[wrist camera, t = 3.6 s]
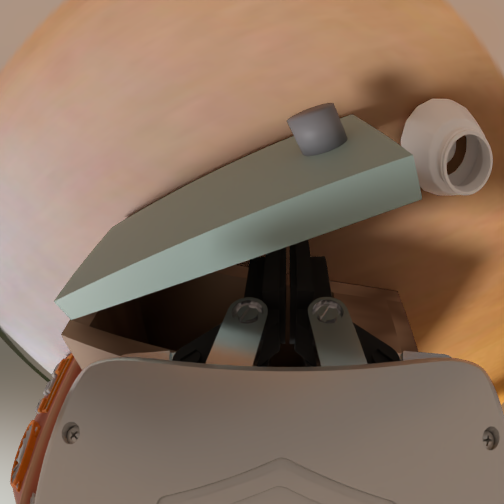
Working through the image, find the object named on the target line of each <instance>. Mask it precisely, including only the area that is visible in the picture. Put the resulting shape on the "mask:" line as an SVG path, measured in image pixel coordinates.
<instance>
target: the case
mask: <svg viewBox="0 0 504 504" xmlns="http://www.w3.org/2000/svg"><path fill="white" fill-rule="evenodd" d="M248 269H249V267H245V266H239V265H233V266H230V267H227V268H224V269H221V270H218V271H215V272H212V273H209V274H206V275H203V276H200V277H198V278H195V279H192V280H189V281H186V282H183V283H180V284H177V285H174V286H171V287H168V288H165V289H162V290H159V291H156V292H153V293H150V294H147V295H144V296H141V297H138V298H135V299H133V300H130V301H127V302H124V303H121V304H118V305H115V306H112V307H109V308H106V309H103V310H100V311H97V312H94V313H91V314H88V315H85V316H82V317H79V318H76V319H73V320H71V319H70V321H69V322H68V324H67V326H66V327H65V329H64V331H63V332H62V334H61V335H62V337H63V339H64V341H65V343H66V344H67V346H68V348H69V349H70V351H71V353H72V354H73V356H74V358H75V359H76V361H77V363H78V364H79V366H80V367H81V369H82V370H83V369H84V368H85V367H87V366H88V365H90V364H92V363H94V362H97V361H100V360H104V359H109V358H117V357H120V356H122V355H125V354H132V353H146V352H159V351H170V352H171V353H176V352H177V351H178V350H179V349H180V348H181V347H183V346H185V345H186V344H188V343H190V342H191V341H193V340H195V339H196V338H198V337H200V336H201V335H203V334H204V333H206V332H208V331H209V330H211V329H213V328H214V327H216V326H217V325H219V324H221V323H222V322H223V320H224V318H225V315H226V313H227V310H228V308H229V307H230V305H231V304H232V303H233V302H235V301H236V300H239V299H241V298H244V293H245V287H246V281H247V275H248ZM329 282H330V288H331V295H332V298H336V299H338V300H340V301H341V302H343V303H344V304H345V306H346V307H347V309H348V312H349V314H350V317H351V320H352V322H353V323H355V324H356V325H358V326H359V327H361V328H363V329H364V330H366V331H367V332H369V333H370V334H372V335H373V336H375V337H376V338H378V339H379V340H381V341H383V342H384V343H386V344H387V345H389V346H390V347H392V348H393V349H394V350H395V351H396V352H397V353H402V352H403V351H411V352H418V349H417V346H416V343H415V340H414V336H413V333H412V330H411V327H410V324H409V321H408V319H407V316H406V313H405V310H404V307H403V305H402V302H401V299H400V296H399V294H398V291H392V290H385V289H379V288H372V287H366V286H359V285H353V284H347V283H340V282H334V281H329ZM270 367H304V364H303V357H302V356H300V355H299V354H298V353H297V352H295V344H290V274H286V333H285V344H280V351H279V352H278V353H276V354H275V355H274V356H272V357H271V363H270Z"/></svg>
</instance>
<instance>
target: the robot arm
mask: <svg viewBox="0 0 504 504" xmlns="http://www.w3.org/2000/svg"><path fill="white" fill-rule="evenodd" d="M285 333H286V247H285V248H282V249H279V250H276V251H273V252H270V253H267V254H266V256H265V257H256V258H253V259H250V263H249V269H248V275H247V281H246V287H245V293H244V298H241V299H239V300H236V301H235V302H233V303H232V304H231V305H230V307H229V308H228V310H227V313H226V315H225V318H224V320H223V322H222V323H221V324H219V325H217V326H216V327H214V328H213V329H211V330H209V331H208V332H206V333H204V334H203V335H201V336H200V337H198V338H196V339H195V340H193V341H191V342H190V343H188V344H186V345H185V346H183V347H181V348H180V349H179V350H178V351H177V352H176V353H171V352H170V351H159V352H146V353H132V354H125V355H122V356H120V357H117V358H109V359H104V360H100V361H97V362H94V363H92V364H90V365H88V366H87V367H85V368H84V369H83V370H82V371H81V373H80V374H79V375H78V376H77V378H76V379H75V381H74V383H73V385H72V386H71V388H70V390H69V392H68V394H67V396H66V398H65V400H64V403H63V405H62V407H61V410H60V412H59V414H58V417H57V420H56V423H55V425H54V428H53V431H52V434H51V437H50V440H49V443H48V446H47V449H46V453H45V456H44V460H43V464H42V468H41V472H40V477H39V481H38V486H37V491H36V496H35V503H34V504H504V415H503V411H502V408H501V404H500V401H499V398H498V395H497V392H496V390H495V388H494V385H493V383H492V381H491V379H490V377H489V376H488V374H487V373H486V371H485V370H484V369H483V368H482V367H480V366H479V365H477V364H475V363H473V362H470V361H467V360H462V359H458V358H451V357H450V356H448V355H445V354H434V353H422V352H411V351H403V352H402V353H397V352H396V351H395V350H394V349H393V348H392V347H390V346H389V345H387V344H386V343H384V342H383V341H381V340H379V339H378V338H376V337H375V336H373V335H372V334H370V333H369V332H367V331H366V330H364V329H363V328H361V327H359V326H358V325H356V324H355V323H353V322H352V320H351V317H350V314H349V312H348V309H347V307H346V306H345V304H344V303H343V302H341V301H340V300H338V299H336V298H332V295H331V288H330V282H329V276H328V270H327V265H326V259H325V257H310V250H309V242H308V240H305V241H302V242H299V243H296V244H293V245H291V246H290V344H295V352H297V353H298V354H299V355H300V356H302V357H303V364H304V367H270V363H271V357H272V356H274V355H275V354H276V353H278V352H279V351H280V344H285Z"/></svg>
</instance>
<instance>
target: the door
mask: <svg viewBox="0 0 504 504" xmlns="http://www.w3.org/2000/svg"><path fill="white" fill-rule="evenodd" d="M287 122H288V125H289V127H290V129H291V131H292V133H293V135H294V136H292V137H290V138H287V139H285V140H283V141H280V142H278V143H275V144H273V145H271V146H268V147H266V148H264V149H261V150H259V151H257V152H255V153H252V154H250V155H248V156H246V157H243V158H241V159H239V160H237V161H235V162H233V163H230V164H228V165H226V166H224V167H222V168H220V169H218V170H216V171H214V172H212V173H210V174H208V175H206V176H204V177H202V178H200V179H198V180H196V181H194V182H192V183H190V184H188V185H186V186H184V187H182V188H180V189H178V190H176V191H175V192H173V193H171V194H169V195H167V196H165V197H164V198H162V199H160V200H158V201H156V202H154V203H153V204H151V205H149V206H147V207H146V208H144V209H142V210H140V211H139V212H137V213H135V214H133V215H132V216H130V217H128V218H127V219H125V220H123V221H122V222H120V223H118V224H117V225H115V226H113V227H112V228H111V229H110V230H109V232H108V233H107V234H106V235H105V236H104V237H103V239H102V240H101V241H100V242H99V243H98V244H97V246H96V247H95V248H94V249H93V251H92V252H91V253H90V254H89V255H88V257H87V258H86V259H85V260H84V262H83V263H82V264H81V265H80V267H79V268H78V269H77V271H76V272H75V273H74V275H73V276H72V277H71V279H70V280H69V281H68V283H67V284H66V285H65V287H64V288H63V289H62V291H61V292H60V293H59V295H58V296H57V298H56V299H55V301H54V302H55V303H56V304H57V305H58V306H59V308H60V309H61V310H62V311H63V312H64V313H65V314H66V315H67V316H68V317H69V318H70V319H71V320H73V319H76V318H79V317H82V316H85V315H88V314H91V313H94V312H97V311H100V310H103V309H106V308H109V307H112V306H115V305H118V304H121V303H124V302H127V301H130V300H133V299H135V298H138V297H141V296H144V295H147V294H150V293H153V292H156V291H159V290H162V289H165V288H168V287H171V286H174V285H177V284H180V283H183V282H186V281H189V280H192V279H195V278H198V277H200V276H203V275H206V274H209V273H212V272H215V271H218V270H221V269H224V268H227V267H230V266H233V265H236V264H238V263H241V262H244V261H247V260H250V259H253V258H256V257H259V256H262V255H265V254H267V253H270V252H273V251H276V250H279V249H282V248H285V247H288V246H291V245H293V244H296V243H299V242H302V241H305V240H308V239H311V238H313V237H316V236H319V235H322V234H325V233H328V232H331V231H334V230H336V229H339V228H342V227H345V226H348V225H351V224H353V223H356V222H359V221H362V220H365V219H368V218H370V217H373V216H376V215H379V214H382V213H385V212H387V211H390V210H393V209H396V208H399V207H401V206H404V205H407V204H410V203H413V202H415V201H418V200H421V199H422V196H421V190H420V185H419V180H418V175H417V170H416V166H415V162H414V157H413V155H412V154H411V153H410V152H408V151H407V150H406V149H404V148H403V147H402V146H400V145H399V144H397V143H396V142H395V141H393V140H392V139H390V138H389V137H387V136H386V135H384V134H383V133H381V132H380V131H378V130H377V129H375V128H374V127H372V126H371V125H369V124H368V123H366V122H364V121H363V120H361V119H359V118H358V117H356V116H355V115H353V114H352V115H349V116H346V117H343V118H339V115H338V113H337V110H336V108H335V106H334V104H333V103H327V104H322V105H318V106H315V107H312V108H309V109H307V110H304V111H302V112H300V113H298V114H296V115H294V116H292V117H290V118H289V119H288V120H287Z"/></svg>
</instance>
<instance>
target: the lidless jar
mask: <svg viewBox="0 0 504 504" xmlns="http://www.w3.org/2000/svg"><path fill="white" fill-rule="evenodd" d="M464 135H465V136H466V153H465V156H464V159H463V162H462V163H461V165H460V166H459V167H458V168H457V170H456V171H455V172H453V173H451V174H449V175H448V174H447V163H448V162H449V161H450V160H451V159H452V158H453V156H454V154H455V150H456V141H457V140H458V139H459V138H460V137H462V136H464ZM401 146H402V147H403V148H404V149H406V150H407V151H408V152H410V153H411V154H412V155H413V157H414V162H415V166H416V170H417V175H418V180H419V185H420V187H421V188H422V189H423V190H424V191H427V192H430V193H433V194H435V195H448V196H453V195H471V194H474V193H476V192H477V191H479V190H480V189H481V188H482V187H483V186H484V185H485V183H486V182H487V180H488V178H489V176H490V174H491V170H492V164H493V156H492V151H491V147H490V145H489V143H488V141H487V140H486V138H485V135H484V133H483V131H482V130H481V128H480V126H479V125H478V123H477V121H476V120H475V119H474V117H473V116H472V115H471V113H470V112H469V111H468V110H467V108H465V107H464V106H462V105H460V104H458V103H457V102H455V101H453V100H450V99H430V100H428V101H426V102H424V103H423V104H421V105H419V106H417V107H416V108H415V110H414V111H413V112H412V114H411V115H410V116H409V118H408V119H407V120H406V123H405V126H404V130H403V133H402V137H401Z"/></svg>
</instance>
